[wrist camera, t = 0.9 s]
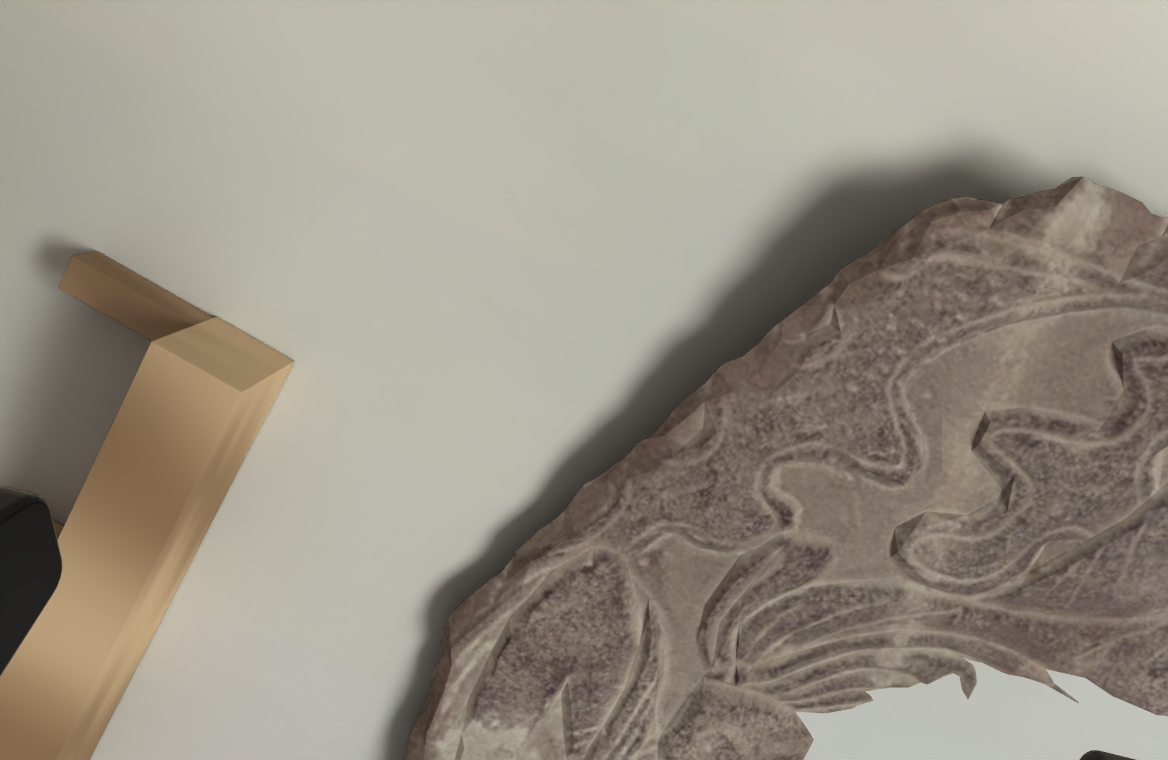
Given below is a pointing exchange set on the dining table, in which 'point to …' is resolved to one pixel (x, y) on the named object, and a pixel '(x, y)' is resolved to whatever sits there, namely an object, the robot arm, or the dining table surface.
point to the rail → (135, 509)
